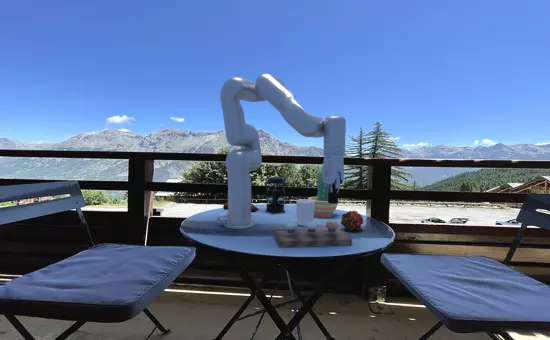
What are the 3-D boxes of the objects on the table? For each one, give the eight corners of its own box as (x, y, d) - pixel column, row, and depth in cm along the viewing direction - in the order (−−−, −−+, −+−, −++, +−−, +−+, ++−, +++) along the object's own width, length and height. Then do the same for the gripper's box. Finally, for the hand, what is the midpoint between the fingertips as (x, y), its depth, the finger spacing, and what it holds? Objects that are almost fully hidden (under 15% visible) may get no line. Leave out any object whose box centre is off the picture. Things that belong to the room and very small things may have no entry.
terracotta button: (327, 232, 115) (328, 224, 115) (324, 229, 119) (324, 221, 119) (339, 232, 116) (340, 224, 115) (335, 229, 120) (335, 221, 120)
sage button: (285, 233, 113) (286, 225, 112) (283, 230, 117) (283, 222, 117) (298, 233, 113) (298, 225, 113) (295, 230, 118) (295, 222, 117)
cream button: (307, 233, 114) (307, 224, 113) (304, 230, 118) (304, 221, 118) (319, 233, 114) (319, 224, 114) (315, 229, 119) (316, 221, 118)
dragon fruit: (347, 237, 127) (351, 234, 138) (366, 226, 125) (369, 223, 136) (335, 218, 129) (340, 216, 140) (353, 207, 127) (357, 206, 138)
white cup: (313, 227, 136) (314, 203, 135) (294, 225, 137) (295, 202, 136) (315, 222, 143) (315, 200, 142) (297, 221, 145) (297, 199, 144)
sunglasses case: (261, 209, 170) (258, 199, 166) (256, 218, 164) (253, 208, 161) (230, 206, 176) (227, 196, 173) (225, 215, 171) (221, 205, 167)
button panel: (279, 247, 108) (279, 241, 108) (274, 236, 121) (274, 231, 121) (351, 245, 112) (351, 239, 112) (338, 234, 125) (338, 229, 125)
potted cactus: (340, 219, 149) (342, 165, 147) (306, 218, 152) (307, 164, 149) (339, 212, 164) (340, 163, 162) (308, 211, 167) (309, 162, 165)
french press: (267, 208, 171) (268, 165, 169) (285, 209, 170) (286, 165, 168) (264, 213, 159) (264, 166, 157) (283, 214, 158) (284, 167, 156)
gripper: (317, 151, 122) (316, 199, 123) (330, 152, 107) (329, 207, 109) (337, 151, 123) (335, 199, 125) (352, 152, 108) (350, 207, 110)
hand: (332, 203), depth 117 cm, fingers closed
